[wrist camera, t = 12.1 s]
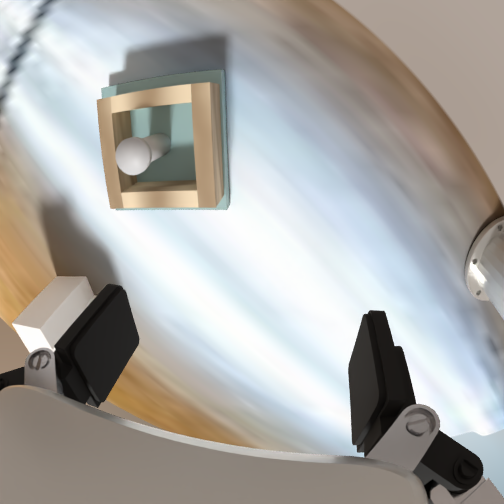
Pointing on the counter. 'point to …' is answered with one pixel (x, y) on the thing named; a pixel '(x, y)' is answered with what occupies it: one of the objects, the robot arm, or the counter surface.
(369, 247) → the counter surface
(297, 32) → the counter surface
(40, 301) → the corner bracket
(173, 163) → the lid with knob
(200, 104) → the ring
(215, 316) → the counter surface
